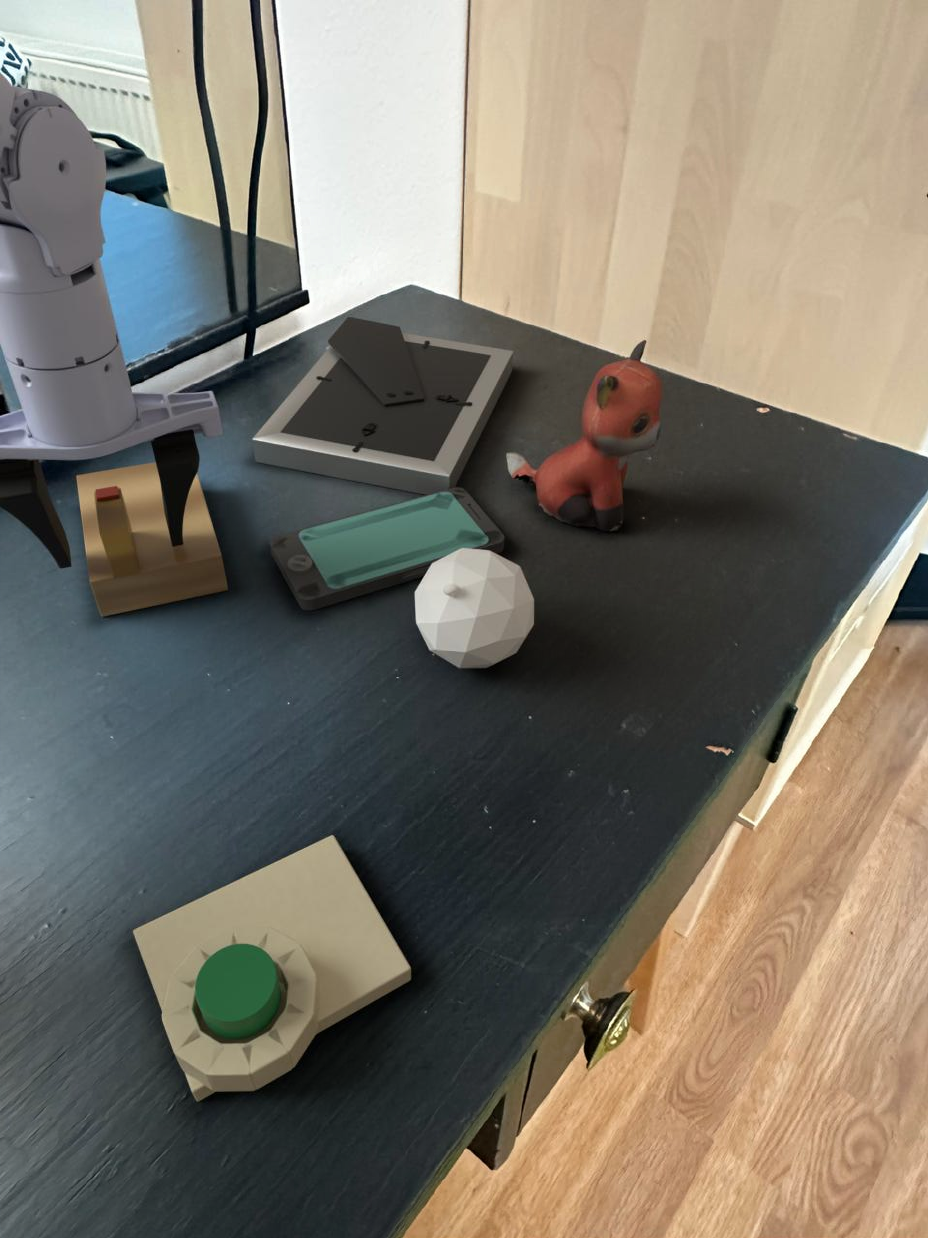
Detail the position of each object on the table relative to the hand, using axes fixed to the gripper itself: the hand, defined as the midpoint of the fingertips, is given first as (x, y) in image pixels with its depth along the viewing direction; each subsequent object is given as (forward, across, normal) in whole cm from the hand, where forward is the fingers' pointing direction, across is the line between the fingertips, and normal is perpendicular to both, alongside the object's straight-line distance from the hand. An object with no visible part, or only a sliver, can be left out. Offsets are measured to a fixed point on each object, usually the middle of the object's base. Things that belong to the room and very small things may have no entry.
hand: (121, 547), depth 56 cm
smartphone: (+4, -17, +2) cm, 17 cm away
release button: (+1, -2, +30) cm, 30 cm away
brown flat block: (+4, -2, -4) cm, 6 cm away
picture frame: (+4, -23, -16) cm, 28 cm away
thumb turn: (+1, 0, 0) cm, 1 cm away
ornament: (+4, -19, +12) cm, 23 cm away
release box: (+4, -3, +28) cm, 28 cm away
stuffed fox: (+4, -32, 0) cm, 32 cm away
